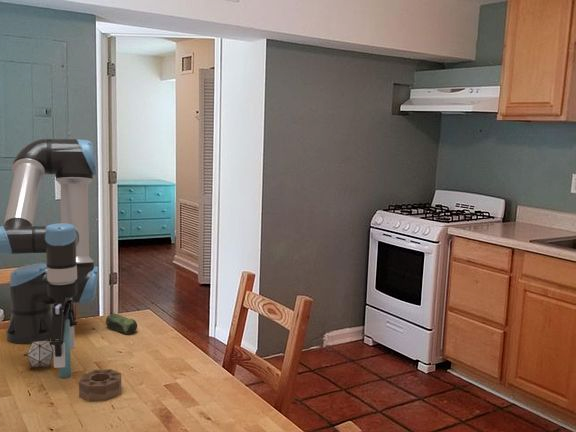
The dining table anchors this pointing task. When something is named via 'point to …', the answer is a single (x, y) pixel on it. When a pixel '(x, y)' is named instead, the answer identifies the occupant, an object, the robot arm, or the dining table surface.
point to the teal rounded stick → (66, 353)
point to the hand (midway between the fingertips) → (64, 357)
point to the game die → (40, 353)
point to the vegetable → (121, 323)
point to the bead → (100, 385)
